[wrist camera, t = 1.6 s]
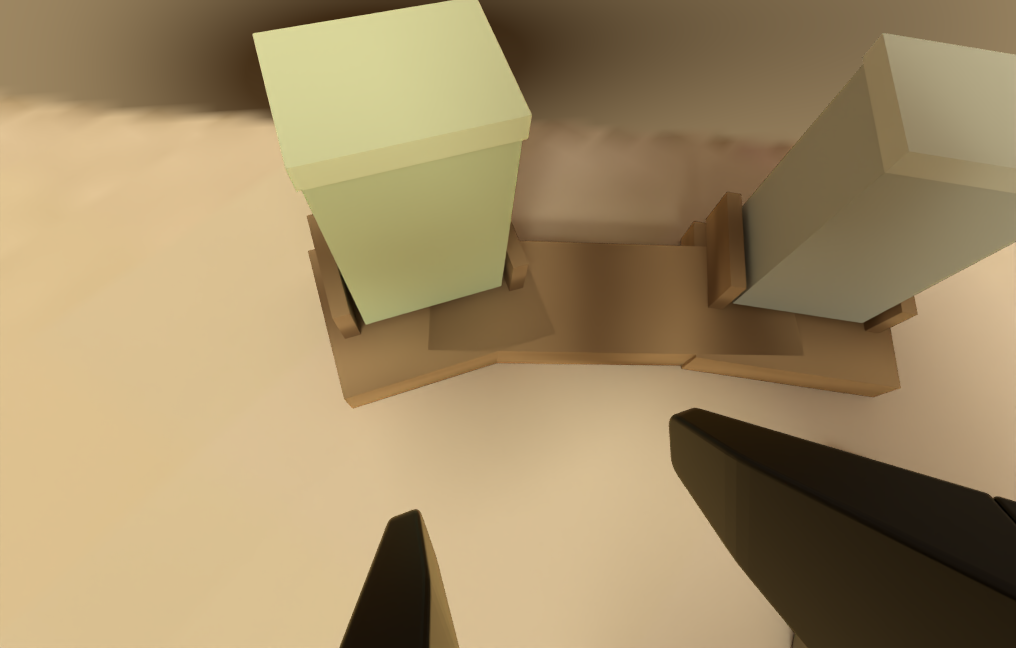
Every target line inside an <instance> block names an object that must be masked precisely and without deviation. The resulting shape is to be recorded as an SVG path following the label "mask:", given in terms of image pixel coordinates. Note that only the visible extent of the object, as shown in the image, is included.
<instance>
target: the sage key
mask: <svg viewBox="0 0 1016 648" xmlns="http://www.w3.org/2000/svg"><path fill="white" fill-rule="evenodd" d="M253 38H254V41H255V46H256V50H257V54H258V59H259V63H260V67H261V70H262V75H263V79H264V83H265V87H266V91H267V96H268V100H269V104H270V108H271V112H272V116H273V120H274V124H275V128H276V133H277V137H278V141H279V145H280V149H281V153H282V157H283V161H284V165H285V169H286V171H287V173H288V175H289V177H290V179H291V181H292V183H293V185H294V187H295V189H296V192H298V191H302V192H303V194H304V196H305V198H306V201H307V203H308V205H309V207H310V209H311V211H312V213H313V215H314V217H315V219H316V221H317V224H318V226H319V228H320V230H321V232H322V234H323V236H324V238H325V240H326V242H327V245H328V247H329V249H330V251H331V253H332V255H333V257H334V259H335V261H336V263H337V266H338V268H339V270H340V272H341V274H342V276H343V278H344V280H345V282H346V284H347V286H348V289H349V291H350V293H351V295H352V297H353V299H354V301H355V303H356V305H357V307H358V310H359V312H360V314H361V316H362V318H363V320H364V322H365V324H370V323H373V322H377V321H380V320H384V319H387V318H391V317H394V316H398V315H401V314H405V313H408V312H412V311H415V310H419V309H423V308H426V307H430V306H433V305H437V304H440V303H444V302H447V301H451V300H454V299H458V298H461V297H465V296H468V295H472V294H475V293H479V292H482V291H486V290H489V289H493V288H496V287H500V286H501V284H502V278H503V271H504V264H505V257H506V250H507V243H508V236H509V230H510V223H511V216H512V209H513V202H514V195H515V188H516V181H517V175H518V168H519V161H520V154H521V147H522V140H526V139H528V136H529V130H530V124H531V118H532V114H531V112H530V110H529V108H528V106H527V103H526V102H525V99H524V97H523V95H522V93H521V91H520V89H519V86H518V84H517V82H516V80H515V78H514V76H513V74H512V72H511V69H510V67H509V65H508V63H507V61H506V59H505V57H504V55H503V53H502V50H501V48H500V46H499V44H498V42H497V40H496V38H495V35H494V33H493V31H492V29H491V27H490V25H489V23H488V21H487V19H486V16H485V14H484V12H483V10H482V8H481V6H480V3H479V2H478V0H452V1H446V2H440V3H434V4H428V5H422V6H416V7H410V8H404V9H398V10H392V11H386V12H380V13H374V14H368V15H362V16H356V17H350V18H344V19H338V20H332V21H326V22H320V23H314V24H308V25H302V26H296V27H290V28H284V29H278V30H272V31H266V32H260V33H254V34H253Z"/></svg>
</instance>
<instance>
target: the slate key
mask: <svg viewBox="0 0 1016 648" xmlns="http://www.w3.org/2000/svg"><path fill="white" fill-rule="evenodd" d="M862 59H863V65H862V66H861V67H860V68H859V70H858V71H857V72H856V73H855V74H854V75H853V77H852V78H851V79H850V80H849V81H848V83H847V84H846V85H845V86H844V87H843V88H842V90H841V91H840V92H839V93H838V94H837V95H836V97H835V98H834V99H833V100H832V101H831V103H830V104H829V105H828V106H827V107H826V109H825V110H824V111H823V112H822V113H821V114H820V116H819V117H818V118H817V119H816V120H815V121H814V123H813V124H812V125H811V126H810V127H809V129H808V130H807V131H806V132H805V133H804V134H803V136H802V137H801V138H800V139H799V140H798V141H797V143H796V144H795V145H794V146H793V147H792V149H791V150H790V151H789V152H788V153H787V154H786V156H785V157H784V158H783V159H782V160H781V162H780V163H779V164H778V165H777V166H776V167H775V169H774V170H773V171H772V172H771V173H770V175H769V176H768V177H767V178H766V179H765V180H764V182H763V183H762V184H761V185H760V186H759V187H758V189H757V190H756V191H755V192H754V193H753V195H752V196H751V197H750V198H749V199H748V200H747V202H746V203H745V204H744V205H743V206H742V218H743V235H744V252H745V270H746V287H747V289H745V290H744V291H743V292H742V293H741V294H740V295H739V296H737V297H736V298H735V299H734V300H733V304H740V305H747V306H753V307H760V308H766V309H773V310H780V311H786V312H793V313H799V314H806V315H812V316H819V317H826V318H832V319H839V320H845V321H852V322H859V323H863V322H865V321H867V320H869V319H871V318H873V317H875V316H877V315H878V314H880V313H882V312H884V311H886V310H888V309H890V308H892V307H894V306H895V305H897V304H899V303H901V302H903V301H905V300H907V299H909V298H911V297H912V296H914V295H916V294H918V293H920V292H922V291H924V290H926V289H927V288H929V287H931V286H933V285H935V284H937V283H939V282H941V281H943V280H944V279H946V278H948V277H950V276H952V275H954V274H956V273H958V272H960V271H961V270H963V269H965V268H967V267H969V266H971V265H973V264H975V263H977V262H978V261H980V260H982V259H984V258H986V257H988V256H990V255H992V254H994V253H995V252H997V251H999V250H1001V249H1003V248H1005V247H1007V246H1009V245H1011V244H1012V243H1014V242H1016V55H1013V54H1007V53H1001V52H994V51H989V50H982V49H977V48H971V47H965V46H958V45H953V44H947V43H941V42H934V41H929V40H922V39H916V38H910V37H904V36H898V35H892V34H886V33H883V34H882V35H881V36H880V37H879V38H878V39H877V41H876V42H875V43H874V44H873V45H872V47H871V48H870V49H869V50H868V51H867V53H866V54H865V55H864V56H863V57H862Z"/></svg>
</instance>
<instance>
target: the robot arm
mask: <svg viewBox="0 0 1016 648" xmlns="http://www.w3.org/2000/svg"><path fill="white" fill-rule="evenodd" d="M669 434H670V450H671V461H672V465H673V467H674V470H675V472H676V473H677V475H678V477H679V478H680V480H681V481H682V483H683V484H684V486H685V487H686V489H687V490H688V492H689V493H690V495H691V496H692V497H693V499H694V500H695V502H696V503H697V505H698V506H699V508H700V509H701V511H702V512H703V514H704V515H705V517H706V518H707V520H708V521H709V523H710V524H711V526H712V527H713V529H714V530H715V532H716V533H717V535H718V536H719V538H720V539H721V541H722V542H723V544H724V545H725V547H726V548H727V549H728V551H729V552H730V554H731V555H732V556H733V558H734V559H735V561H736V562H737V563H738V565H739V566H740V567H741V568H742V570H743V571H744V572H745V573H746V575H747V576H748V577H749V578H750V580H751V581H752V582H753V583H754V584H755V586H756V587H757V588H758V589H759V590H760V592H761V593H762V594H763V595H764V596H765V598H766V599H767V600H768V601H769V603H770V604H771V605H772V606H773V607H774V609H775V610H776V611H777V612H778V613H779V615H780V616H781V617H782V618H783V619H784V621H785V622H786V623H787V624H788V626H789V627H790V628H791V629H792V630H793V632H794V633H795V634H796V635H797V636H798V638H799V639H800V640H801V641H802V642H803V644H804V645H805V646H806V647H807V648H1016V501H1012V500H1009V499H1005V498H1002V497H994V498H992V497H991V496H990V495H989V494H987V493H984V492H981V491H978V490H974V489H971V488H967V487H964V486H961V485H957V484H954V483H951V482H947V481H944V480H940V479H937V478H934V477H930V476H927V475H923V474H920V473H917V472H913V471H910V470H906V469H903V468H900V467H896V466H893V465H889V464H886V463H883V462H879V461H876V460H872V459H869V458H866V457H862V456H859V455H855V454H852V453H849V452H845V451H842V450H838V449H835V448H832V447H828V446H825V445H821V444H818V443H815V442H811V441H808V440H804V439H801V438H798V437H794V436H791V435H787V434H784V433H781V432H777V431H774V430H770V429H767V428H764V427H760V426H757V425H753V424H750V423H747V422H743V421H740V420H736V419H733V418H730V417H726V416H723V415H719V414H716V413H713V412H709V411H706V410H702V409H698V408H692V409H689V410H686V411H683V412H680V413H678V414H675V415H673V416H672V417H671V418H670V421H669ZM339 648H459V645H458V641H457V637H456V633H455V629H454V625H453V621H452V617H451V613H450V609H449V605H448V601H447V597H446V593H445V589H444V585H443V581H442V577H441V573H440V569H439V565H438V562H437V558H436V555H435V552H434V549H433V546H432V543H431V540H430V537H429V534H428V531H427V528H426V526H425V523H424V520H423V517H422V514H421V512H420V511H419V510H416V509H414V510H411V511H408V512H406V513H403V514H400V515H397V516H395V517H393V518H391V519H390V520H389V521H388V523H387V526H386V528H385V531H384V534H383V536H382V539H381V541H380V544H379V547H378V549H377V552H376V554H375V557H374V560H373V562H372V565H371V567H370V570H369V572H368V575H367V578H366V580H365V583H364V585H363V588H362V591H361V593H360V596H359V598H358V601H357V604H356V606H355V609H354V611H353V614H352V616H351V619H350V622H349V624H348V627H347V629H346V632H345V635H344V637H343V640H342V642H341V645H340V647H339Z"/></svg>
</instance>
